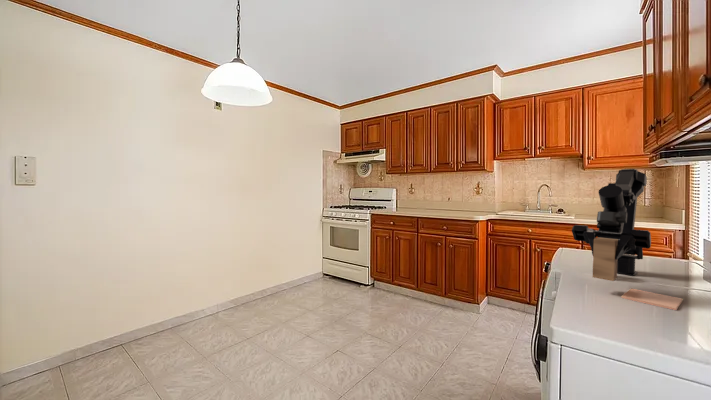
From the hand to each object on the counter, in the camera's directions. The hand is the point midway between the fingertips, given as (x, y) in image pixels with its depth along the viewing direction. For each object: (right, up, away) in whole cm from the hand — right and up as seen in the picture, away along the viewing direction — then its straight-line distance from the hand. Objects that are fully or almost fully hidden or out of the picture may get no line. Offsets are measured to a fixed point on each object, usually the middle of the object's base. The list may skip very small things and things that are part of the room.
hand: (604, 257), depth 90 cm
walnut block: (+1, -7, +1) cm, 7 cm away
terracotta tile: (+10, -11, -4) cm, 16 cm away
